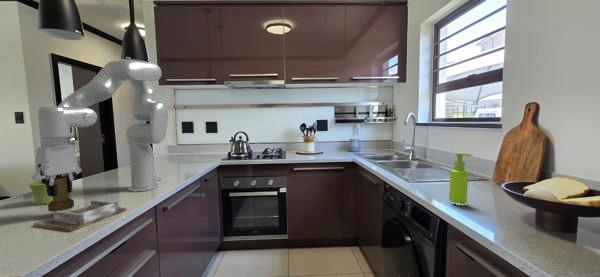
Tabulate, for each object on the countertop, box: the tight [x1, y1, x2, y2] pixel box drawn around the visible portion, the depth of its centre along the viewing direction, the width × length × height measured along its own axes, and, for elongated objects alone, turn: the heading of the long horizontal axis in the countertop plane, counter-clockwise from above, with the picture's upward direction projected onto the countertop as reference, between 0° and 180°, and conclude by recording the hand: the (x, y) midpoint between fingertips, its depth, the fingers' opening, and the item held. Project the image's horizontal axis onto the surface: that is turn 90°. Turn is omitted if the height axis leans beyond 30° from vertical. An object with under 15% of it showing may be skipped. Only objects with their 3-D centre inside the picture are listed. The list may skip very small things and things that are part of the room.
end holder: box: [33, 199, 127, 233], centre depth 86 cm, size 18×16×4 cm
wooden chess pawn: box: [47, 174, 75, 213], centre depth 88 cm, size 7×6×18 cm
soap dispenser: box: [448, 152, 473, 204], centre depth 98 cm, size 6×7×20 cm
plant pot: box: [27, 180, 53, 206], centre depth 101 cm, size 9×9×9 cm
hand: (60, 193), depth 88 cm, fingers closed on wooden chess pawn, 3 cm apart
